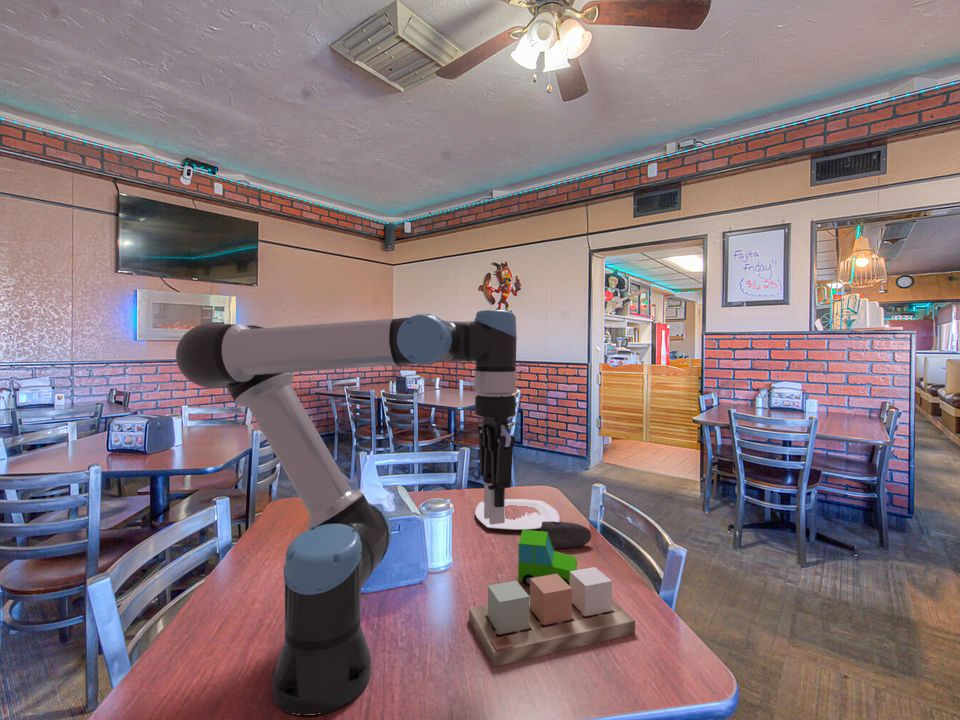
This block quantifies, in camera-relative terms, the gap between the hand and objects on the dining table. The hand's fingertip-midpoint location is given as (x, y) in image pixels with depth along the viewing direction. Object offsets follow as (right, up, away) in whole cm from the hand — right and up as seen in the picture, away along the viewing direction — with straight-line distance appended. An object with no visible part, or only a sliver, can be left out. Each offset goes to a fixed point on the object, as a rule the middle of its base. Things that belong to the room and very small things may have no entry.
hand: (494, 519), depth 83 cm
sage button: (+3, -20, +1) cm, 20 cm away
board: (+11, -22, +4) cm, 25 cm away
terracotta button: (+11, -20, +4) cm, 23 cm away
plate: (+9, -22, +62) cm, 66 cm away
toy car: (+13, -22, +22) cm, 34 cm away
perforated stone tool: (+21, -22, +40) cm, 51 cm away
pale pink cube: (+20, -20, +7) cm, 29 cm away
